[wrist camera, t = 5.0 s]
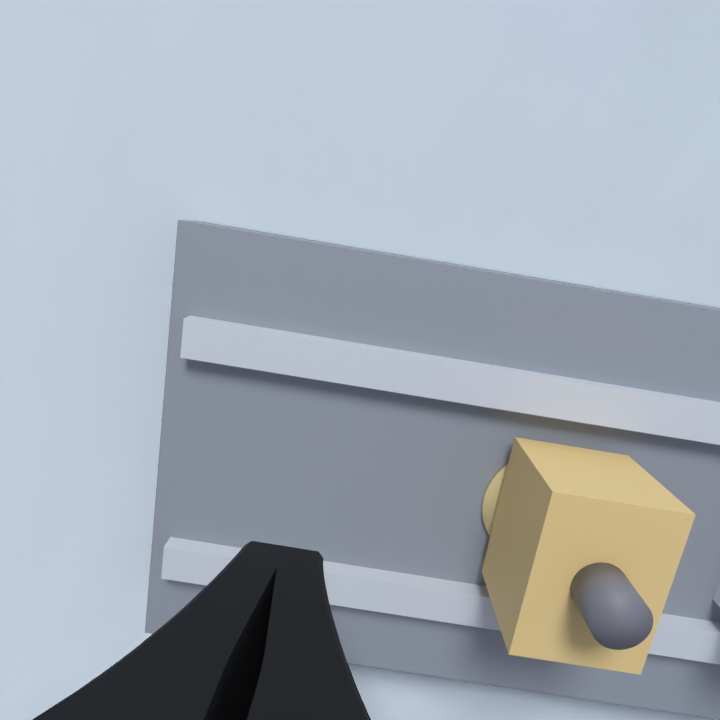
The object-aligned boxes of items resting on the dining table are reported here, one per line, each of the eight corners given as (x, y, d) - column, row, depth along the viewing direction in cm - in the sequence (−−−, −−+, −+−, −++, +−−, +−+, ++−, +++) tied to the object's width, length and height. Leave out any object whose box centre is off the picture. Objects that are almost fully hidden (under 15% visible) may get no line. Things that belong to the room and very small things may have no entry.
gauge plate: (877, 334, 15) (1164, 394, 10) (738, 686, 18) (899, 886, 12) (197, 221, 15) (95, 216, 9) (163, 598, 18) (70, 765, 12)
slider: (628, 455, 14) (730, 545, 10) (587, 587, 15) (667, 718, 11) (514, 437, 14) (572, 519, 10) (481, 571, 15) (522, 696, 11)
